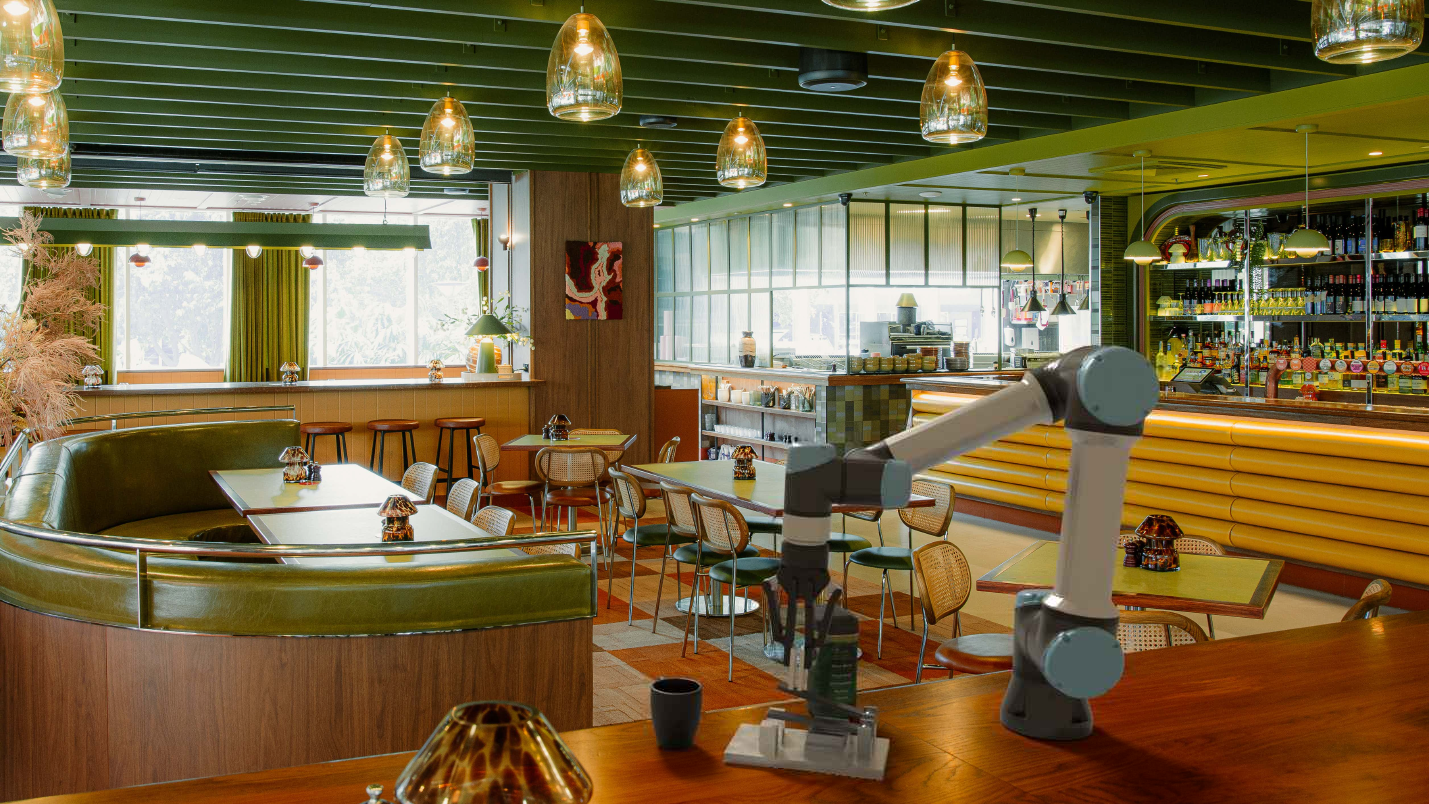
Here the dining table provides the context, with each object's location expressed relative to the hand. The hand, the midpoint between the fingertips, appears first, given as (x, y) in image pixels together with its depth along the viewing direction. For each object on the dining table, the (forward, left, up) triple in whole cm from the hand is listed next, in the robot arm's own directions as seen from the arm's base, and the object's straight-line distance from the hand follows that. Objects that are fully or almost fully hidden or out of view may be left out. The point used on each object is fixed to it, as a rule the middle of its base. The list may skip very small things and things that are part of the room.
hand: (796, 687), depth 172 cm
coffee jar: (-4, -17, -10) cm, 20 cm away
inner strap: (-4, 0, -3) cm, 5 cm away
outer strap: (-4, +6, -4) cm, 8 cm away
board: (-3, +3, -10) cm, 10 cm away
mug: (+19, +3, -10) cm, 22 cm away
